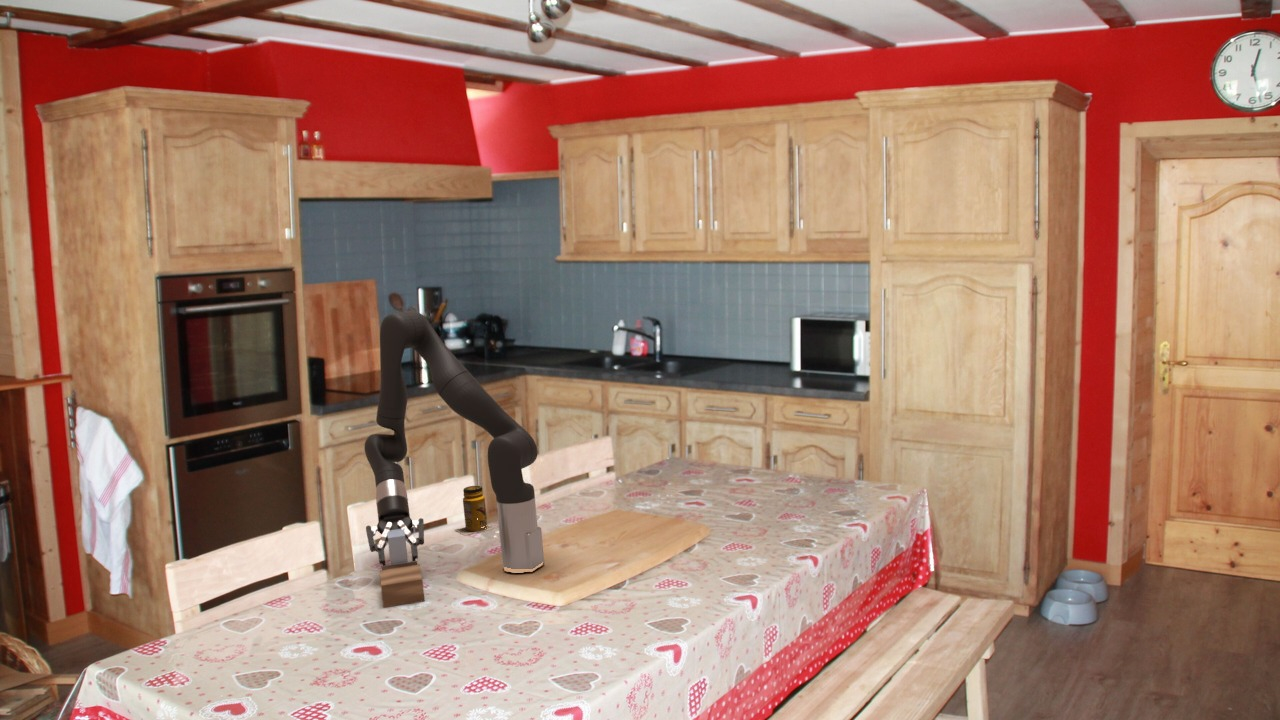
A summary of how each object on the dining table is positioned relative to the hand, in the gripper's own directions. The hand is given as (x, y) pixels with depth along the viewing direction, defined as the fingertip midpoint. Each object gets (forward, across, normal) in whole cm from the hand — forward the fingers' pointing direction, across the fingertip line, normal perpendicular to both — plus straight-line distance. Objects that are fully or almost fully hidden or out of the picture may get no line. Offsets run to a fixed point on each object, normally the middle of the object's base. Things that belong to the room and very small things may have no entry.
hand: (399, 561), depth 247 cm
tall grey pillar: (+3, 0, +5) cm, 6 cm away
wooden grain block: (+8, 0, 0) cm, 8 cm away
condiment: (-24, +21, +32) cm, 45 cm away
